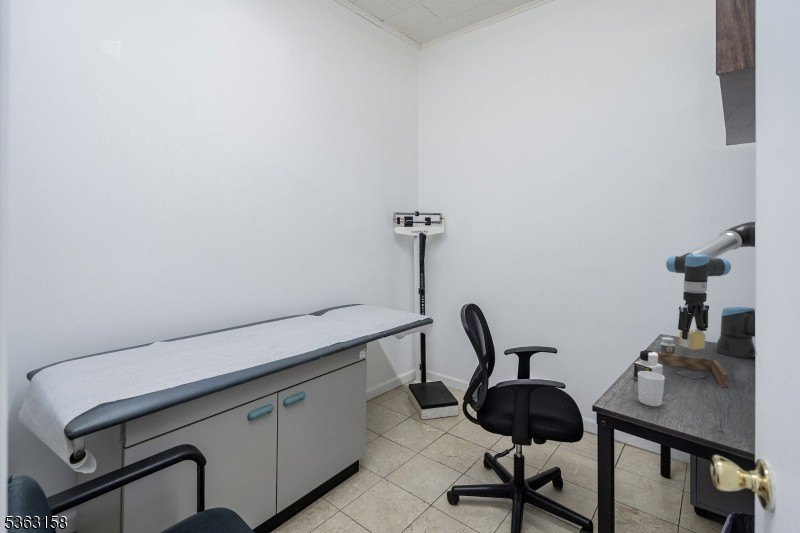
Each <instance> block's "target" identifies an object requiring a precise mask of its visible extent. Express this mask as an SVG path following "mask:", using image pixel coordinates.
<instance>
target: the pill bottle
mask: <svg viewBox="0 0 800 533" xmlns="http://www.w3.org/2000/svg"><path fill="white" fill-rule="evenodd" d="M674 342H675V339H674V338H673V337H666V336H663V337H661V342H660V346H659V353H667V354H675V352H676V351H675V349H676V344H675V343H674ZM675 355H676V354H675Z"/></svg>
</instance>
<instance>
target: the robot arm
mask: <svg viewBox="0 0 800 533" xmlns="http://www.w3.org/2000/svg"><path fill="white" fill-rule="evenodd" d="M755 222H756V221H749V222H744V223H741V224H739V225H735V226H733V227H731V228H728V229H726V230H724V231H722V232H720V233H719V235H718V237H715V238H713V239H712V240H710V241H708V242H707V241H706V242H705V243H703V244H702V245H700V246H698V247H696V248H693V249H692V250H691V251H688V252H687V253H685V254H683V255H680V256H678V255H675V256H674V255H673V256H669V257H668V259H667V260H666V264H665V267H666V269H667V270H668V272H671V273H674V274H675V273H676V274H684V280H683V292H682V293H683V294H682V295H683V297H682V299H683V301H685V303H684V306H679V307H678V312H679V313H678V314H679V315H678V324H677V330H678V331H679V332H681V331H682V346H681V347H683V346H684V348H686V347H687V349H689V348H690V336H691V332H689V331H691V327H692V326H691V325H692V322H693V319H694V322H695V327H696V329H694V331H695V332H699V333H703V334H704V332H707V330H708V328H709V310H710V305H707V304H704V303H706V302H707V297H708V294H707V293H706V292H708V277H721V276H726V275H728V274H729V273H730V272H731V269H732V265H731V263H730V261H729V260H728V259H726V258H722V257H719V256H721V255H723V254H726V253H728V252H729V251H730V250H732V251H733V250H737V249H739V248H746V247H747V248H751V247H752V248H756V247H755ZM755 310H756V308H754V307H746V306H740V307H739V306H733V307H732V306H729V307H725V308H723V309H722V311H721V316H720V317H721V322H720V335H719V338H718V340H717V342H716V344H715V346H714V351H715V352H716V353H718V354H721V355H724V356H728V357H735V358H739V357H741V359H755V358H754V355H755V349H756V347H755V344H754V341H753V337H755ZM755 338H756V337H755ZM751 357H752V358H751Z"/></svg>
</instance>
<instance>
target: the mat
mask: <svg viewBox="0 0 800 533" xmlns="http://www.w3.org/2000/svg"><path fill="white" fill-rule="evenodd" d="M674 373H675V374H678V375H680V376H682V377H685V378H689V379H691V380H698V379H703V378H706V376H705V375H702V374H699V373H696V372H693V371H691V370H683V371H677V372H674Z"/></svg>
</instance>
